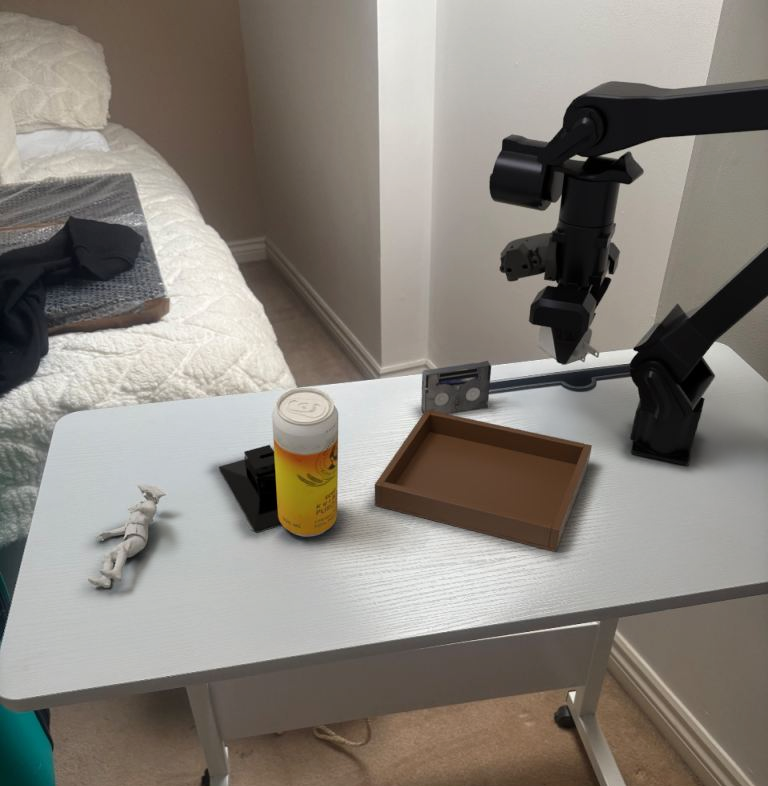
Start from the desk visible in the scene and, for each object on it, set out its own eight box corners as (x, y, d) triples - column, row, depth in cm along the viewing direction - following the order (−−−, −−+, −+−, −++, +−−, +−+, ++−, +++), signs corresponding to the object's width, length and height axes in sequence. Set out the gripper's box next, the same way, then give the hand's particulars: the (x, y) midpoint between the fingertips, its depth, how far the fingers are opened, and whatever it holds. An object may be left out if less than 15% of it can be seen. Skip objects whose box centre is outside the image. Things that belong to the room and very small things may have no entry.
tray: (588, 465, 94) (592, 444, 92) (555, 552, 83) (559, 530, 81) (425, 429, 100) (426, 409, 98) (374, 505, 88) (374, 484, 87)
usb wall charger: (562, 340, 100) (568, 310, 97) (601, 368, 95) (608, 337, 93) (536, 349, 98) (541, 318, 95) (574, 377, 94) (581, 346, 91)
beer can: (328, 545, 84) (329, 431, 73) (270, 534, 84) (262, 419, 74) (343, 504, 88) (345, 390, 77) (288, 494, 89) (282, 380, 78)
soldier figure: (72, 591, 80) (102, 488, 87) (118, 608, 83) (144, 507, 89) (109, 566, 75) (138, 458, 82) (157, 584, 78) (181, 479, 84)
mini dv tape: (483, 401, 104) (486, 359, 101) (487, 407, 103) (491, 365, 99) (421, 411, 103) (422, 368, 99) (424, 417, 102) (426, 374, 98)
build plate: (318, 514, 88) (315, 479, 85) (252, 535, 85) (247, 499, 82) (276, 452, 96) (273, 419, 93) (216, 469, 94) (210, 435, 91)
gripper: (533, 182, 96) (520, 307, 106) (486, 239, 83) (477, 376, 93) (630, 193, 93) (608, 321, 103) (598, 255, 79) (576, 395, 89)
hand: (567, 351), depth 97 cm, fingers closed on usb wall charger, 5 cm apart
